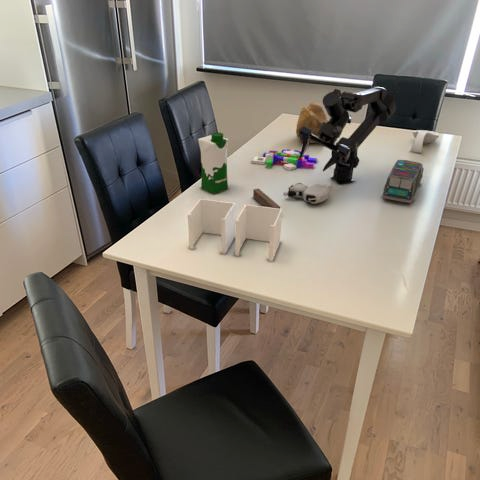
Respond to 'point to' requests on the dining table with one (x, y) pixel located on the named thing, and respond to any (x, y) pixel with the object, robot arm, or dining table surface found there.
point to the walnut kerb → (264, 199)
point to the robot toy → (309, 192)
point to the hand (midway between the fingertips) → (311, 164)
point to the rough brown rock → (311, 119)
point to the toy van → (403, 181)
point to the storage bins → (223, 223)
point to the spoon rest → (423, 139)
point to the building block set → (285, 159)
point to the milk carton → (214, 162)
